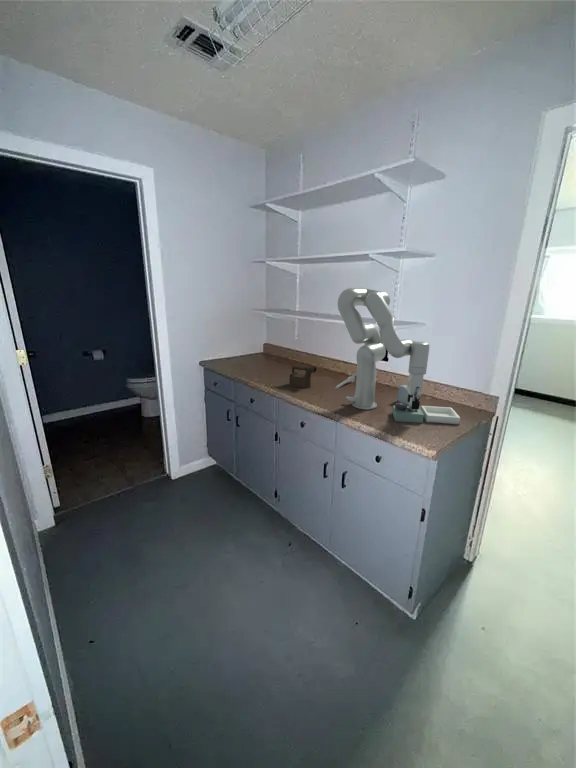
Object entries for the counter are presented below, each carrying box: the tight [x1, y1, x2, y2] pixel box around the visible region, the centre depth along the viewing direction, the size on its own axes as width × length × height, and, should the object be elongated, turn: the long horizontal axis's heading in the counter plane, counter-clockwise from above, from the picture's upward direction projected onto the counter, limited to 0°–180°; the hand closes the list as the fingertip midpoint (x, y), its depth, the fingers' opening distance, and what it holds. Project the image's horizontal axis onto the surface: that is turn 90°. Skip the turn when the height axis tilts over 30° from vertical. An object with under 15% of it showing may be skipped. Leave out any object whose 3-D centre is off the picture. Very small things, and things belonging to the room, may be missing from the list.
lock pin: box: [408, 397, 416, 412], centre depth 153 cm, size 3×3×10 cm
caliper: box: [334, 372, 356, 390], centre depth 204 cm, size 20×1×6 cm, turn 137°
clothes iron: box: [289, 364, 317, 389], centre depth 200 cm, size 8×16×13 cm, turn 56°
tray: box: [420, 405, 461, 425], centre depth 155 cm, size 14×13×3 cm
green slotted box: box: [391, 402, 424, 424], centre depth 154 cm, size 12×10×7 cm
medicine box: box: [397, 384, 410, 406], centre depth 174 cm, size 8×4×9 cm, turn 26°
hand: (412, 405), depth 153 cm, fingers open, 9 cm apart
